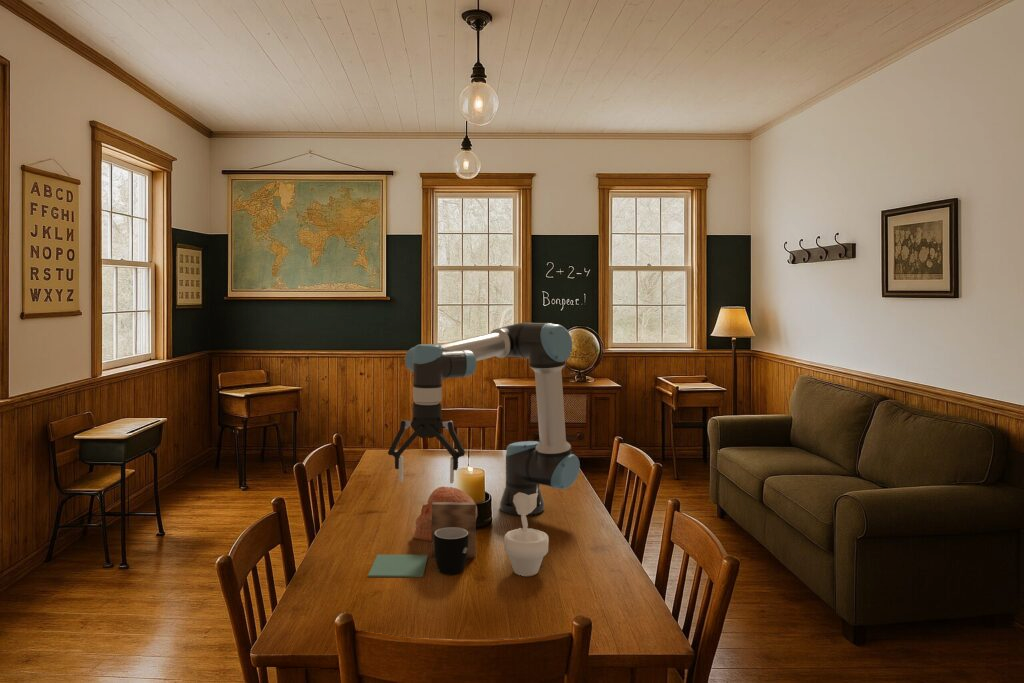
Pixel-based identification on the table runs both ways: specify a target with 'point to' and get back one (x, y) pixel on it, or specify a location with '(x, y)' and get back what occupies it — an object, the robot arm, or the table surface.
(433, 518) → the walnut board
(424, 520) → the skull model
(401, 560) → the felt pad
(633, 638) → the table surface
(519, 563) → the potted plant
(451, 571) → the mug
